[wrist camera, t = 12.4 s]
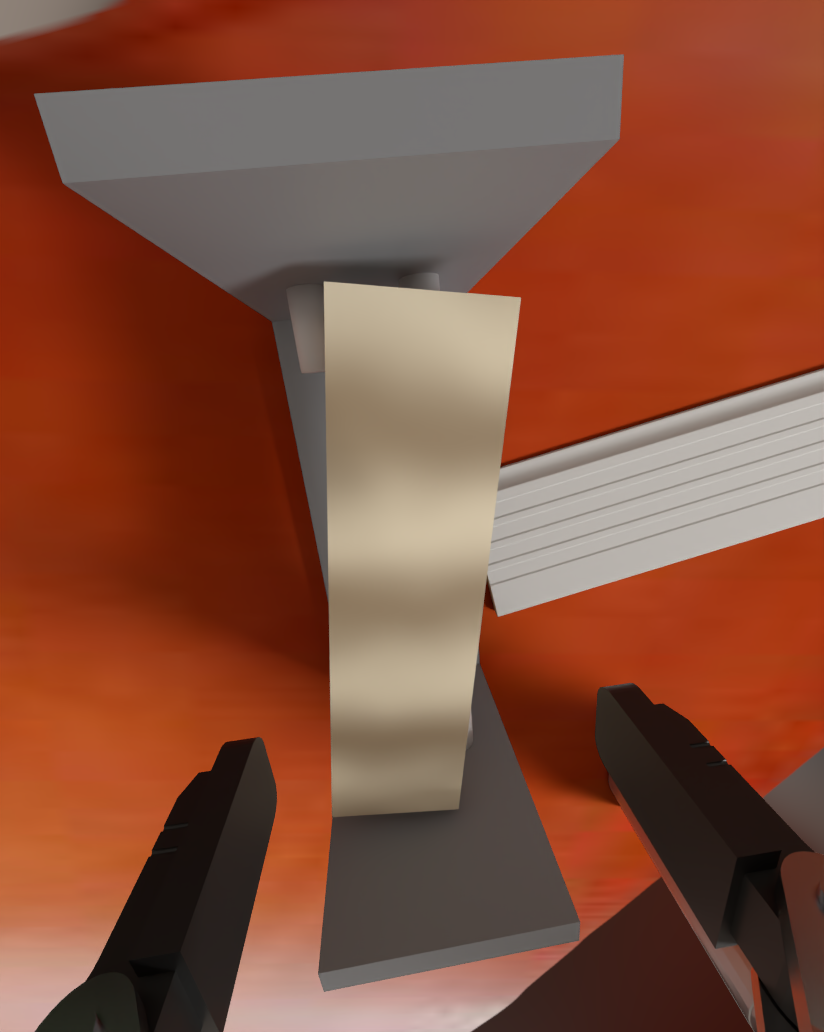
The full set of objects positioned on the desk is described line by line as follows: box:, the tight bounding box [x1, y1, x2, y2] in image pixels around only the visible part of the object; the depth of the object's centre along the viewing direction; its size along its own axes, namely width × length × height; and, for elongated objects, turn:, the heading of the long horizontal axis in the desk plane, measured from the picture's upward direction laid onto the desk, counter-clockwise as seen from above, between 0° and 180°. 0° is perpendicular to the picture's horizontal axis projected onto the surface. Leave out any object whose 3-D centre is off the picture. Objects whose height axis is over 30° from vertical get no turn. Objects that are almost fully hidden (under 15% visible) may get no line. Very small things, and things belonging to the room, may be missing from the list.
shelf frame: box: [34, 55, 624, 992], centre depth 18 cm, size 26×10×16 cm, turn 6°
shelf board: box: [324, 281, 521, 817], centre depth 17 cm, size 22×6×4 cm, turn 177°
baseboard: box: [487, 368, 824, 617], centre depth 26 cm, size 31×3×12 cm
